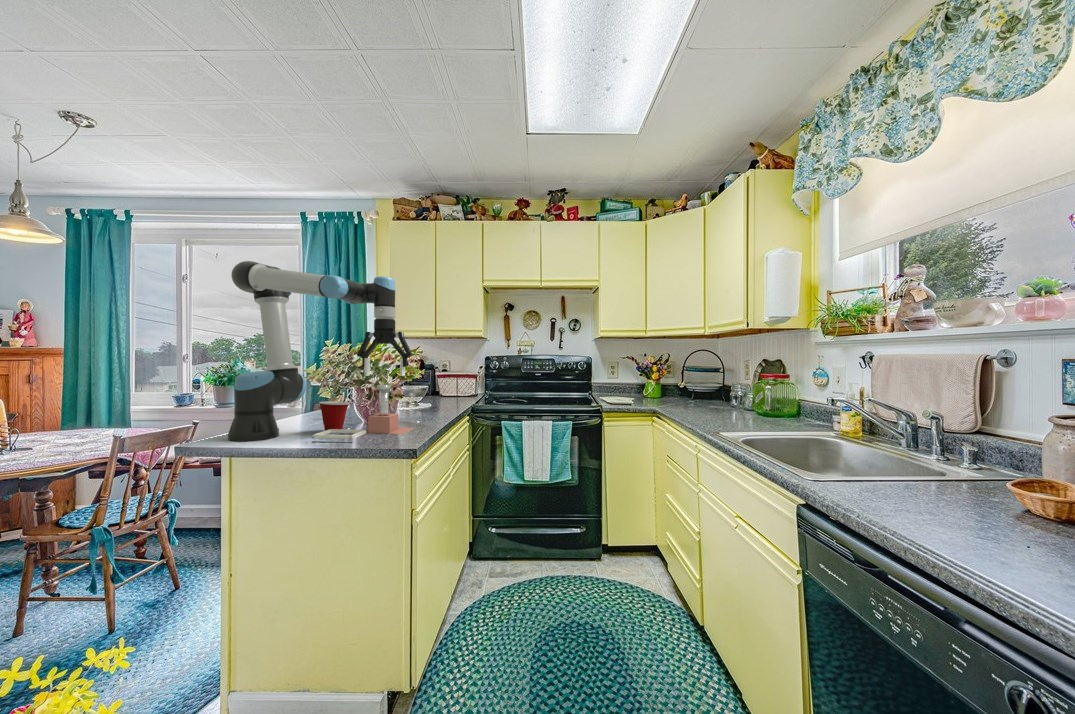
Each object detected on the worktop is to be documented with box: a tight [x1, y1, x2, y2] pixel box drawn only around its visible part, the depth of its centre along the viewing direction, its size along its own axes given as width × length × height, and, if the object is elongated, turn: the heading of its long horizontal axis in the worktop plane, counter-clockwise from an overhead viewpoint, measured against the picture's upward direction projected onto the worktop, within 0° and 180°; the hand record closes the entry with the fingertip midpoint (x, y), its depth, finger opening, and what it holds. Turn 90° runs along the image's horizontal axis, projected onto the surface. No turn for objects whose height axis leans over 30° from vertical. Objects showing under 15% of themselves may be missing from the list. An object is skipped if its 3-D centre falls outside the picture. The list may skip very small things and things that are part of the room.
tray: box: [311, 429, 368, 444], centre depth 149 cm, size 14×11×2 cm
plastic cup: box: [318, 401, 351, 431], centre depth 162 cm, size 11×11×12 cm
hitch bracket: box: [367, 412, 415, 435], centre depth 160 cm, size 13×12×8 cm
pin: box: [376, 384, 392, 416], centre depth 158 cm, size 5×5×17 cm
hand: (384, 375), depth 158 cm, fingers open, 13 cm apart
